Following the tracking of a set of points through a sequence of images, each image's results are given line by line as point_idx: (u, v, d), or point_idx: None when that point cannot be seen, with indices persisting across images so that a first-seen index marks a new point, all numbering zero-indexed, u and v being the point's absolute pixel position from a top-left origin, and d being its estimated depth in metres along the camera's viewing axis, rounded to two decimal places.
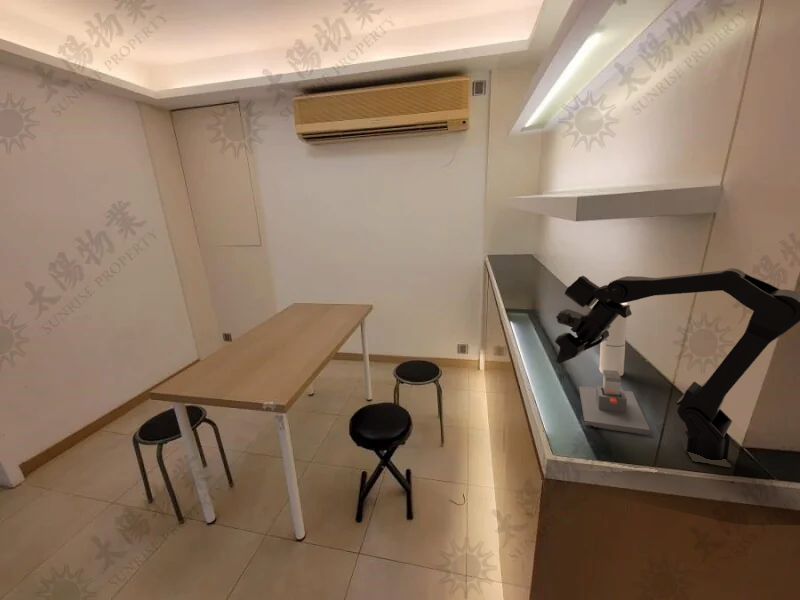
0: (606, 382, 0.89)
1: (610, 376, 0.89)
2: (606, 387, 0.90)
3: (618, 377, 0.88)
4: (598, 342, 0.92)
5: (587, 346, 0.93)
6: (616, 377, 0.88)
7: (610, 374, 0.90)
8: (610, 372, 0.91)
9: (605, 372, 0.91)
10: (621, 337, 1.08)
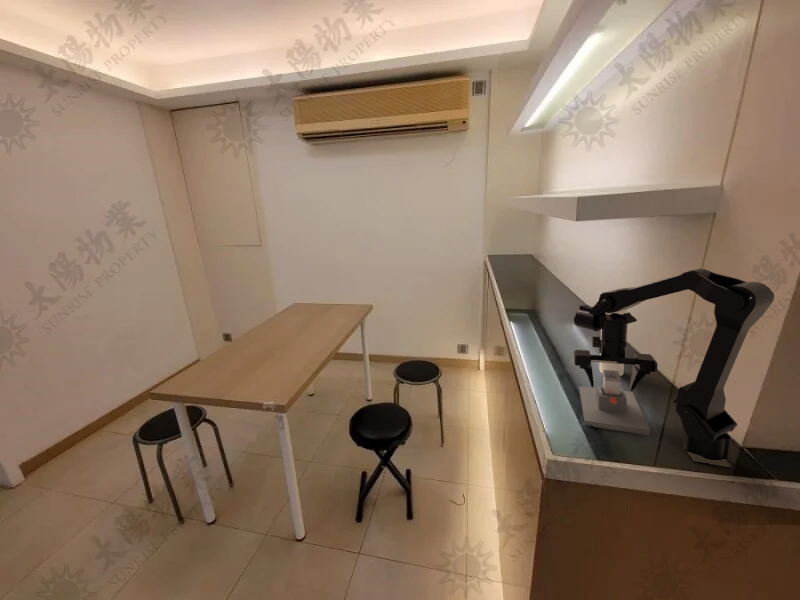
0: (606, 382, 0.89)
1: (610, 376, 0.89)
2: (606, 387, 0.90)
3: (618, 377, 0.88)
4: (641, 371, 0.85)
5: (634, 378, 0.87)
6: (616, 377, 0.88)
7: (610, 374, 0.90)
8: (610, 372, 0.91)
9: (605, 372, 0.91)
10: None
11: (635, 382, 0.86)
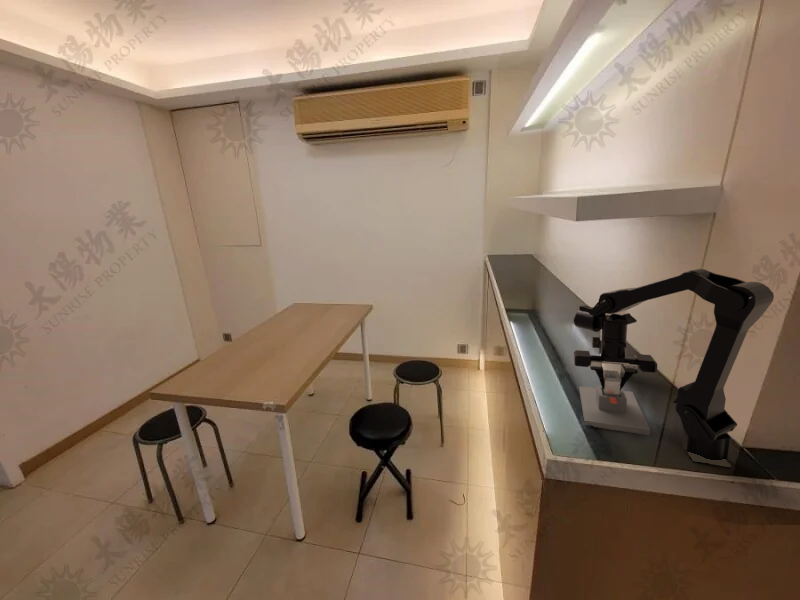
0: (606, 382, 0.89)
1: (610, 376, 0.89)
2: (606, 387, 0.90)
3: (618, 377, 0.88)
4: (628, 371, 0.86)
5: (622, 378, 0.88)
6: (616, 377, 0.88)
7: (610, 374, 0.90)
8: (610, 372, 0.91)
9: (605, 372, 0.91)
10: None
11: (623, 381, 0.88)
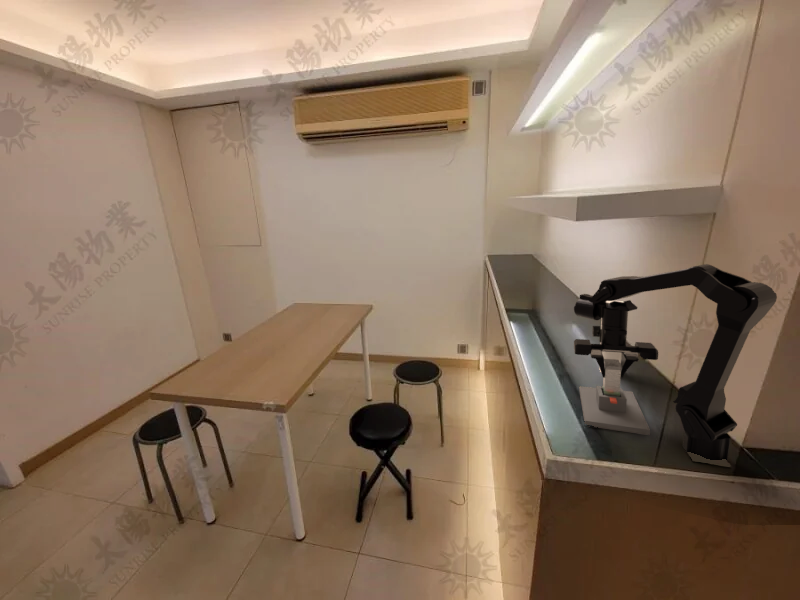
0: (607, 370, 0.89)
1: (611, 364, 0.88)
2: (607, 376, 0.89)
3: (618, 365, 0.87)
4: (629, 359, 0.85)
5: (623, 366, 0.87)
6: (617, 365, 0.87)
7: (610, 362, 0.89)
8: (611, 361, 0.90)
9: (606, 361, 0.91)
10: None
11: (624, 370, 0.87)
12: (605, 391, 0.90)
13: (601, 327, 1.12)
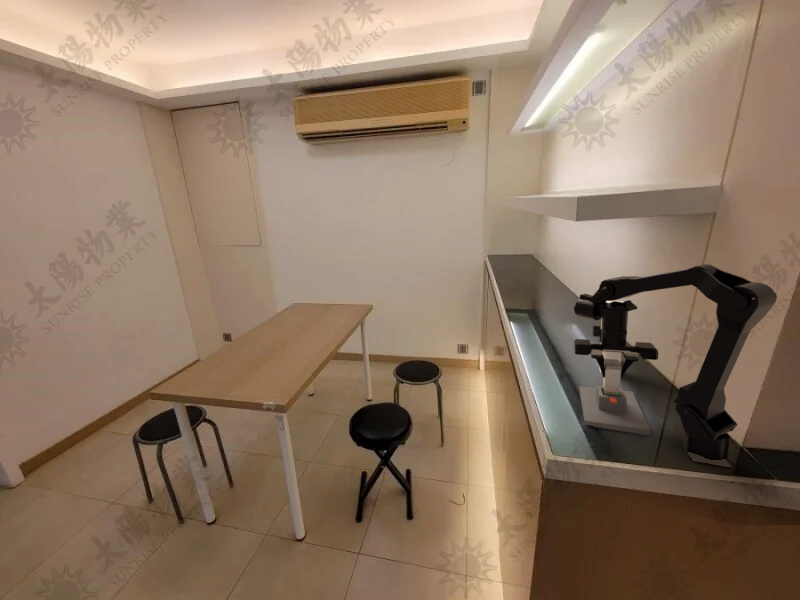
0: (607, 370, 0.89)
1: (611, 364, 0.88)
2: (607, 376, 0.89)
3: (618, 365, 0.87)
4: (629, 359, 0.85)
5: (623, 366, 0.87)
6: (617, 365, 0.87)
7: (610, 362, 0.89)
8: (611, 361, 0.90)
9: (606, 361, 0.91)
10: None
11: (623, 370, 0.87)
12: (605, 391, 0.90)
13: (601, 327, 1.12)
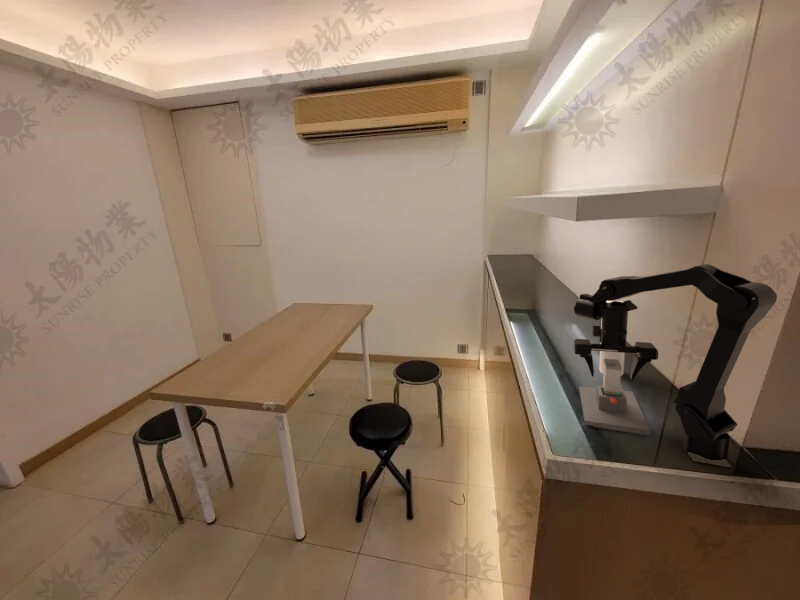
0: (607, 370, 0.89)
1: (611, 364, 0.88)
2: (607, 375, 0.89)
3: (618, 365, 0.87)
4: (641, 359, 0.84)
5: (635, 367, 0.86)
6: (617, 365, 0.87)
7: (610, 362, 0.89)
8: (611, 361, 0.90)
9: (606, 361, 0.91)
10: None
11: (636, 370, 0.86)
12: (605, 391, 0.90)
13: (601, 327, 1.12)
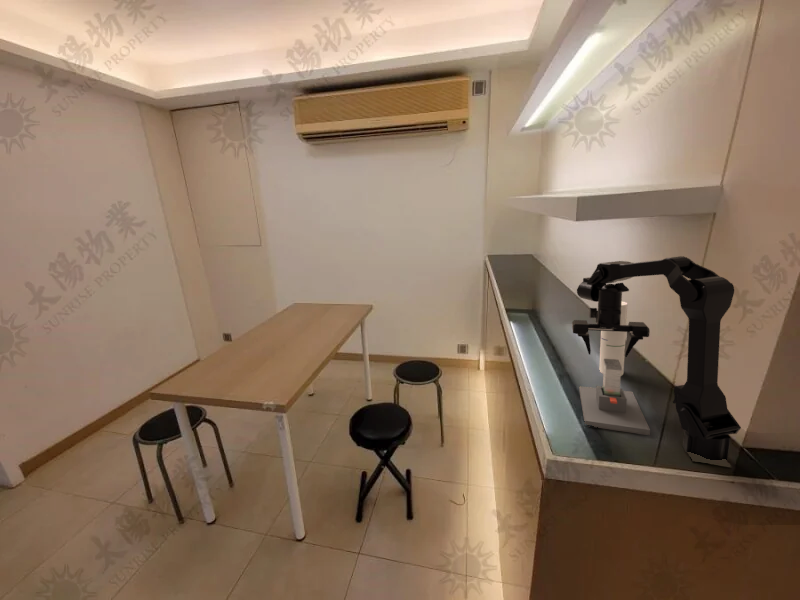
0: (607, 370, 0.89)
1: (611, 364, 0.88)
2: (607, 375, 0.89)
3: (618, 365, 0.87)
4: (634, 337, 0.91)
5: (628, 344, 0.93)
6: (617, 365, 0.87)
7: (610, 362, 0.89)
8: (611, 361, 0.90)
9: (606, 361, 0.91)
10: (621, 337, 1.08)
11: (629, 348, 0.93)
12: (605, 391, 0.90)
13: None
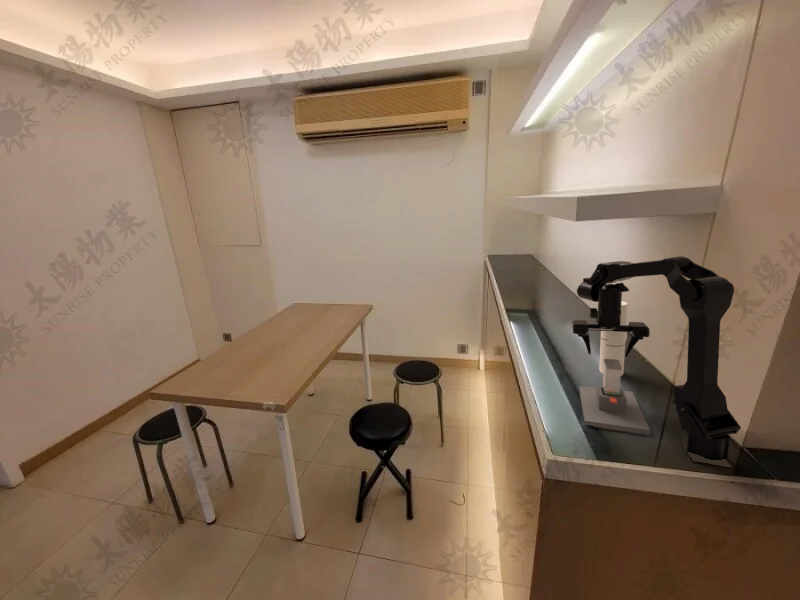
0: (607, 370, 0.89)
1: (611, 364, 0.88)
2: (607, 375, 0.89)
3: (618, 365, 0.87)
4: (634, 337, 0.91)
5: (628, 344, 0.93)
6: (617, 365, 0.87)
7: (610, 362, 0.89)
8: (611, 361, 0.90)
9: (606, 361, 0.91)
10: (621, 337, 1.08)
11: (629, 348, 0.93)
12: (605, 391, 0.90)
13: None
